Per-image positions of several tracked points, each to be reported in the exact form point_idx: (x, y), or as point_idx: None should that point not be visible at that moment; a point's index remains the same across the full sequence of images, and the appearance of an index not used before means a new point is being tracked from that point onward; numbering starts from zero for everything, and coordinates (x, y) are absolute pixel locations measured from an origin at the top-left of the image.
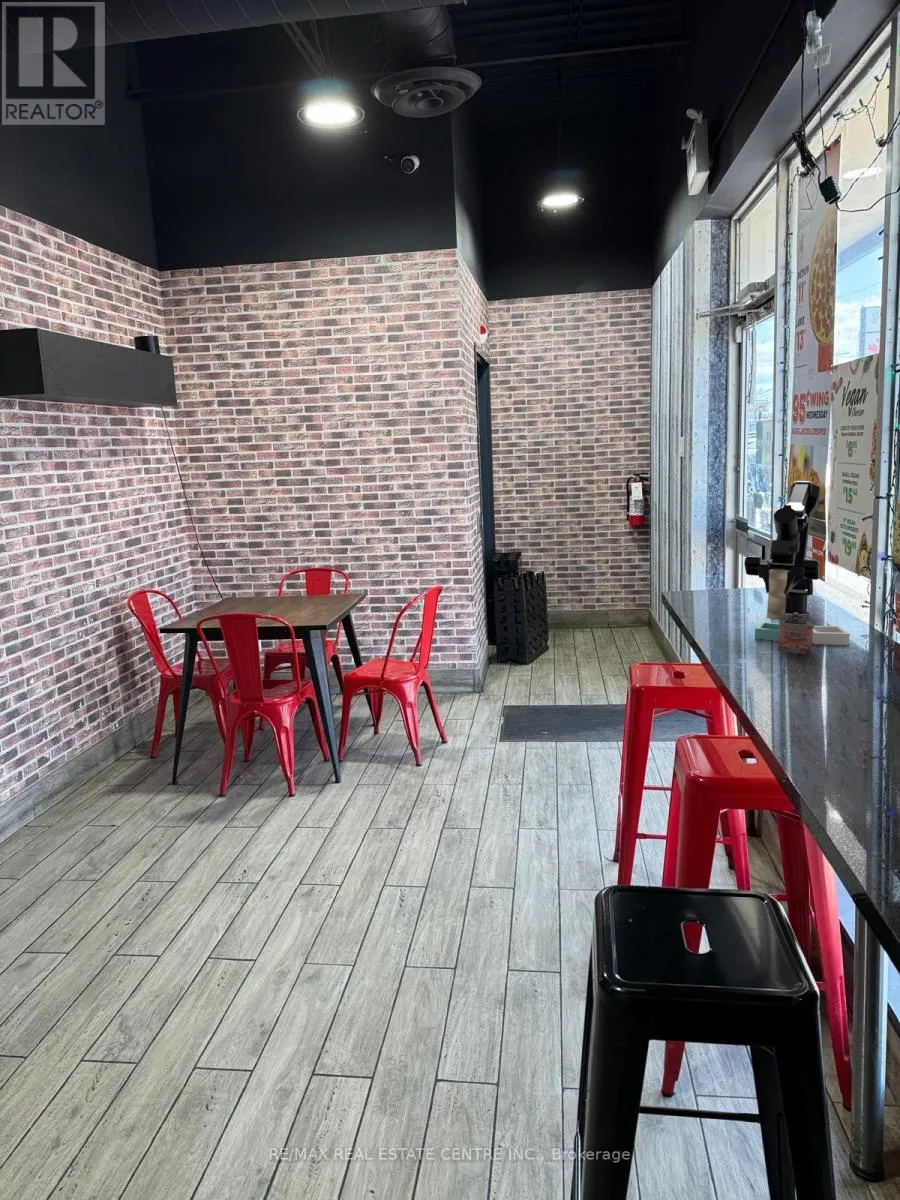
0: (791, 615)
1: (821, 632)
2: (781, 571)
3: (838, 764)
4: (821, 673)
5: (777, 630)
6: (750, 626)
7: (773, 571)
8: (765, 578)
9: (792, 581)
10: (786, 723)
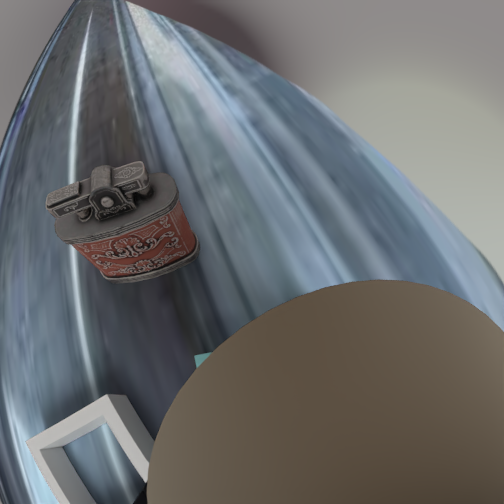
0: (118, 170)
1: (91, 416)
2: (245, 382)
3: (85, 12)
4: (76, 138)
5: None
6: None
7: (415, 286)
8: None
9: (141, 502)
10: (117, 18)
